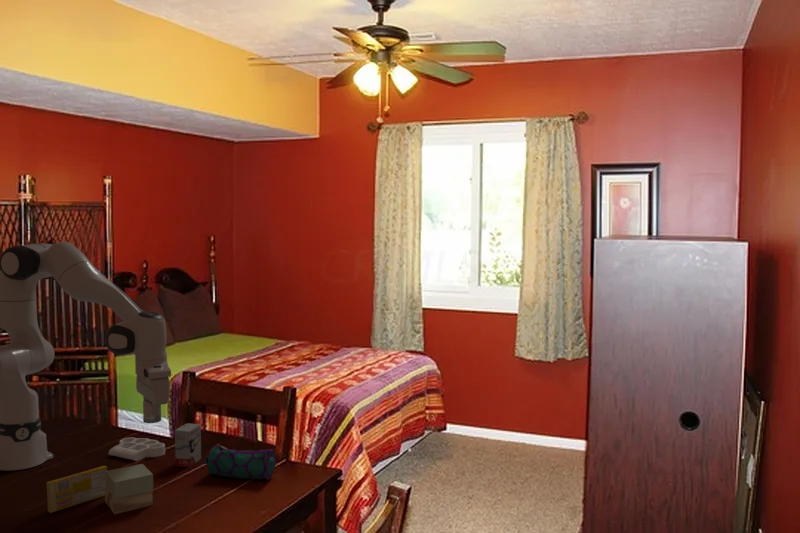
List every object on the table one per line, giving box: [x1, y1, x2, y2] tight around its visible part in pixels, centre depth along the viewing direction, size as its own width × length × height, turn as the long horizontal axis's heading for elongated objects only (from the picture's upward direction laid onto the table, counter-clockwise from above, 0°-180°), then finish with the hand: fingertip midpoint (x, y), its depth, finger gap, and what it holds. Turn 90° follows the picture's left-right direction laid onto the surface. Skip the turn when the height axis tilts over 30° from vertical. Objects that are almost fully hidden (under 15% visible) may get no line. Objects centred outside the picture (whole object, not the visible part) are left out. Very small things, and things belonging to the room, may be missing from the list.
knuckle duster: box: [108, 436, 166, 462], centre depth 231 cm, size 3×18×15 cm
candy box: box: [46, 465, 108, 514], centre depth 190 cm, size 16×2×8 cm, turn 141°
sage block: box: [105, 463, 154, 499], centre depth 190 cm, size 10×10×4 cm
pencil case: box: [202, 443, 277, 480], centre depth 211 cm, size 21×9×10 cm, turn 78°
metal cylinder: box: [142, 399, 162, 424], centre depth 204 cm, size 5×5×6 cm
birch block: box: [104, 487, 154, 515], centre depth 190 cm, size 10×10×4 cm
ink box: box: [174, 422, 202, 468], centre depth 222 cm, size 9×5×12 cm, turn 168°
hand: (152, 413), depth 204 cm, fingers closed on metal cylinder, 5 cm apart
